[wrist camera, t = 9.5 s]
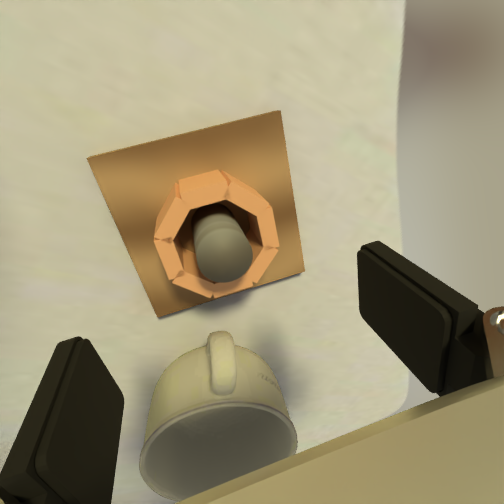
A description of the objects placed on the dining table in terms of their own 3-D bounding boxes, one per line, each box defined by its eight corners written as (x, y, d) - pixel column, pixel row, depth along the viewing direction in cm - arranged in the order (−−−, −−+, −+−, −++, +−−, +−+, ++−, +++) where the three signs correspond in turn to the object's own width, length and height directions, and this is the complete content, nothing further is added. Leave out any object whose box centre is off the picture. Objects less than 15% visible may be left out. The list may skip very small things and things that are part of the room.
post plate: (90, 156, 19) (53, 176, 13) (276, 110, 20) (317, 110, 14) (157, 311, 24) (153, 373, 18) (301, 266, 25) (338, 311, 20)
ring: (144, 189, 19) (139, 204, 16) (250, 160, 20) (264, 170, 17) (179, 281, 23) (180, 309, 19) (269, 253, 23) (285, 275, 20)
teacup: (252, 414, 32) (275, 503, 24) (140, 417, 28) (129, 520, 21) (291, 299, 27) (334, 367, 20) (162, 286, 23) (157, 363, 16)
